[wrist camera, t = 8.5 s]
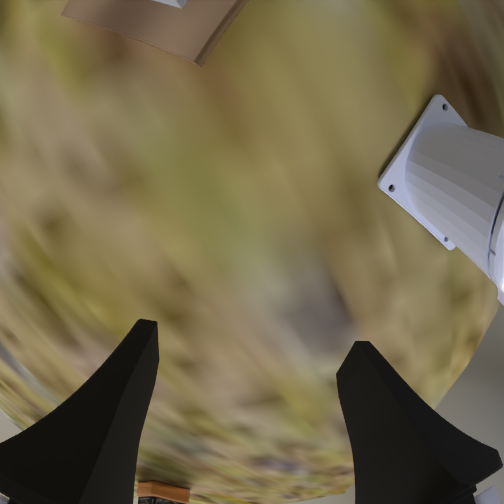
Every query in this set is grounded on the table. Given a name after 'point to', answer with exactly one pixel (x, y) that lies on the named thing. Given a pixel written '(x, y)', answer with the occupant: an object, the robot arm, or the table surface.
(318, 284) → the table surface
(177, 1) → the slate block
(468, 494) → the robot arm
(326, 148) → the table surface
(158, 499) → the whiskey bottle
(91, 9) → the walnut block
